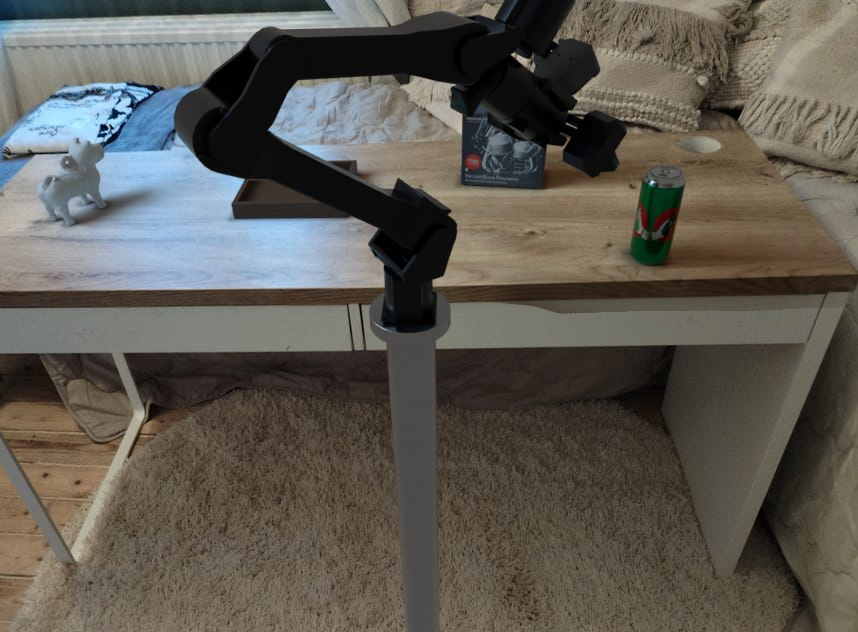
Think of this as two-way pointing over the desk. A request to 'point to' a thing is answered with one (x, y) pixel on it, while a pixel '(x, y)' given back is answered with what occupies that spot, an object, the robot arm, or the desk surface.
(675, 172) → the soda can
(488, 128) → the small box
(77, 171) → the dog figurine
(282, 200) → the tray
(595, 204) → the desk surface
